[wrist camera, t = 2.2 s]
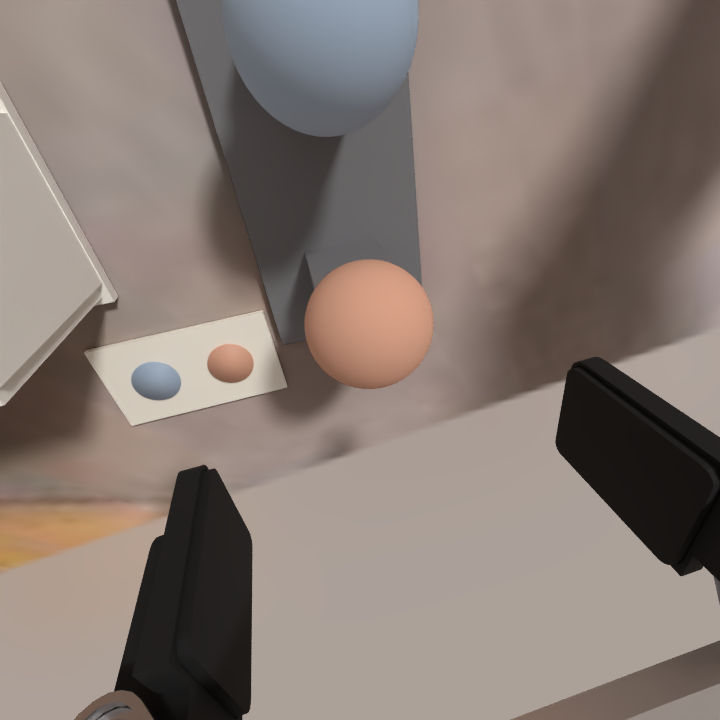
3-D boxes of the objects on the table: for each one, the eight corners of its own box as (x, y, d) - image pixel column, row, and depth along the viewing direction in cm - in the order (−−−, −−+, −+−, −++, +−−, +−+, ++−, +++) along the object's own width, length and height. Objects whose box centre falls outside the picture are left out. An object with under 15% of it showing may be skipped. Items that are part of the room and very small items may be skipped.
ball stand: (393, -69, 14) (433, -126, 10) (419, 307, 22) (446, 340, 19) (166, -37, 13) (134, -87, 10) (282, 340, 21) (285, 379, 18)
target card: (262, 310, 20) (262, 313, 20) (287, 384, 23) (287, 389, 23) (86, 350, 19) (82, 354, 19) (133, 422, 22) (131, 427, 22)
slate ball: (379, -85, 11) (448, -205, 7) (395, 119, 14) (452, 121, 10) (203, -61, 11) (163, -174, 6) (257, 145, 13) (253, 159, 9)
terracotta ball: (405, 232, 16) (454, 272, 12) (413, 334, 19) (455, 396, 15) (286, 257, 16) (294, 309, 11) (313, 358, 18) (327, 429, 14)
